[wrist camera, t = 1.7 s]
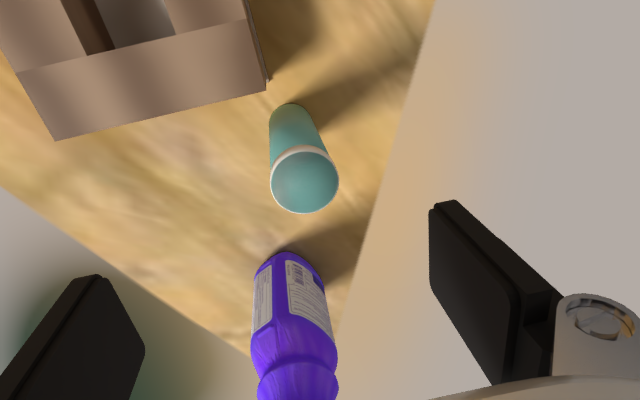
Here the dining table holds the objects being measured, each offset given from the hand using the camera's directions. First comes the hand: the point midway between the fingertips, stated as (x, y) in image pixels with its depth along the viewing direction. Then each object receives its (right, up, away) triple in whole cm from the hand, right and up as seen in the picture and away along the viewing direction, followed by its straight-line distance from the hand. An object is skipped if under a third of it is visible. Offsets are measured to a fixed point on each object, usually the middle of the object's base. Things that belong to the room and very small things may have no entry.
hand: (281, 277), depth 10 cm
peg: (-1, +8, +19) cm, 21 cm away
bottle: (-2, -5, +26) cm, 27 cm away
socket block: (-11, +16, +14) cm, 24 cm away
